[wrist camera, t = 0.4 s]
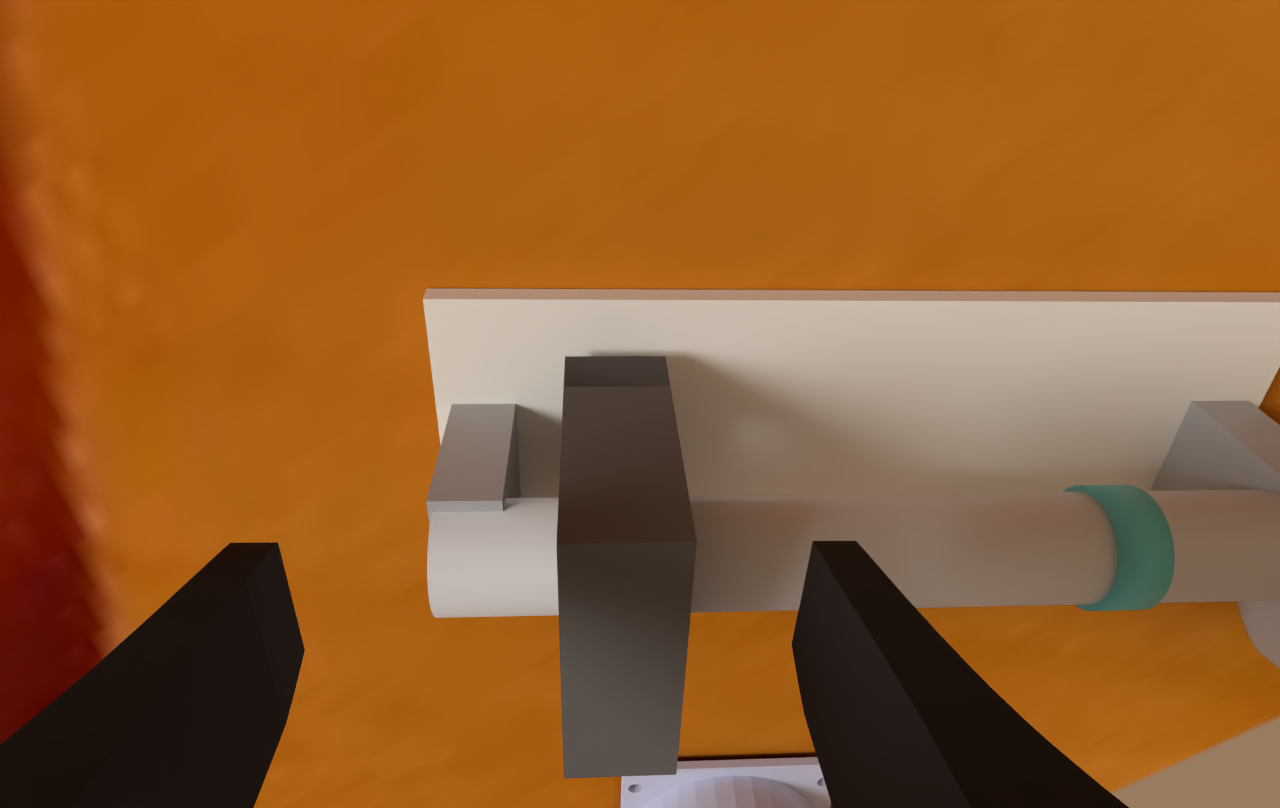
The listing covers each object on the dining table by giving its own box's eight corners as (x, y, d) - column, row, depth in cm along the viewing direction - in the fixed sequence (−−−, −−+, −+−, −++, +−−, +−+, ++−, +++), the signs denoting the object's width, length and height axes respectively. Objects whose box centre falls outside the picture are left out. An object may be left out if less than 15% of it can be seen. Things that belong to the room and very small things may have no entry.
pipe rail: (1294, 292, 21) (1517, 419, 16) (1165, 554, 26) (1305, 715, 21) (426, 288, 20) (372, 426, 15) (459, 566, 24) (427, 741, 19)
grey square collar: (665, 356, 20) (697, 542, 14) (654, 560, 23) (676, 774, 18) (564, 356, 19) (556, 544, 14) (569, 562, 23) (563, 778, 17)
